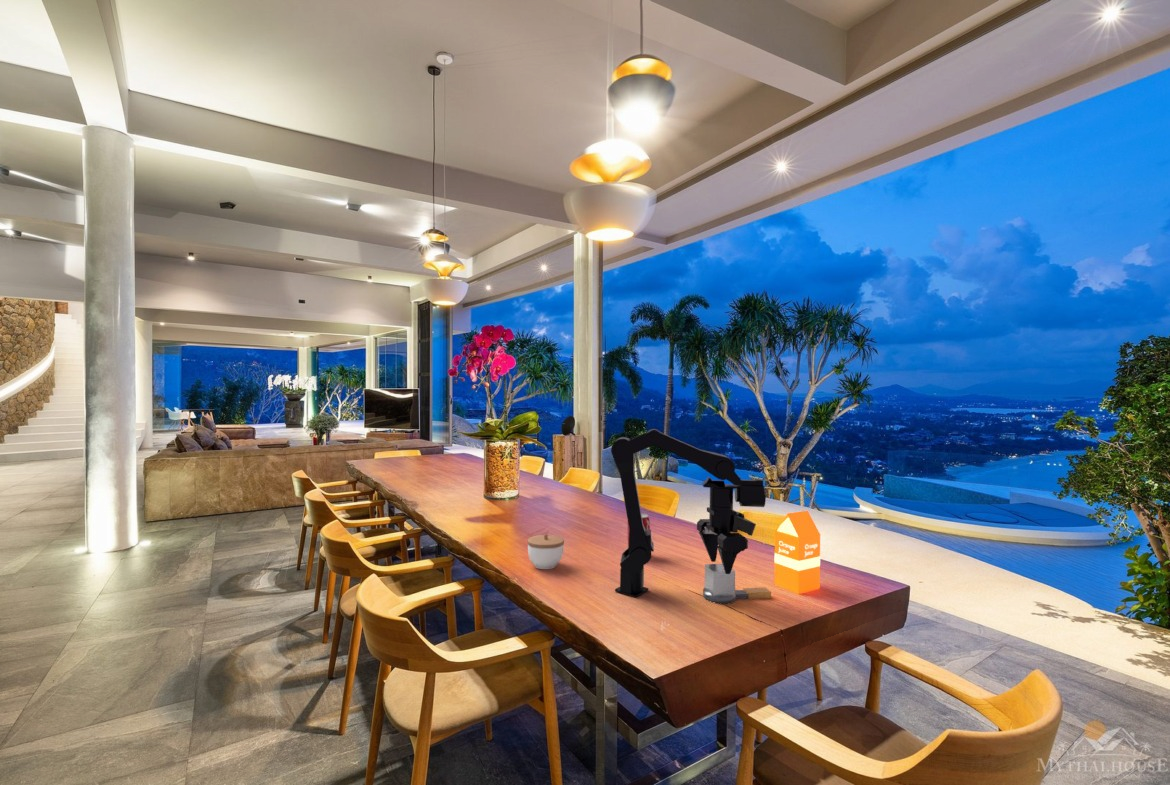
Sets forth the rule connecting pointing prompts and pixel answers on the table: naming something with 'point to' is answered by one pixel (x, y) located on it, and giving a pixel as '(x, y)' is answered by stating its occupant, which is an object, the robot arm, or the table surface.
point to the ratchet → (739, 595)
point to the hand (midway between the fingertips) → (720, 567)
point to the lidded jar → (545, 550)
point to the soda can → (645, 522)
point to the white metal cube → (719, 580)
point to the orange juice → (797, 553)
